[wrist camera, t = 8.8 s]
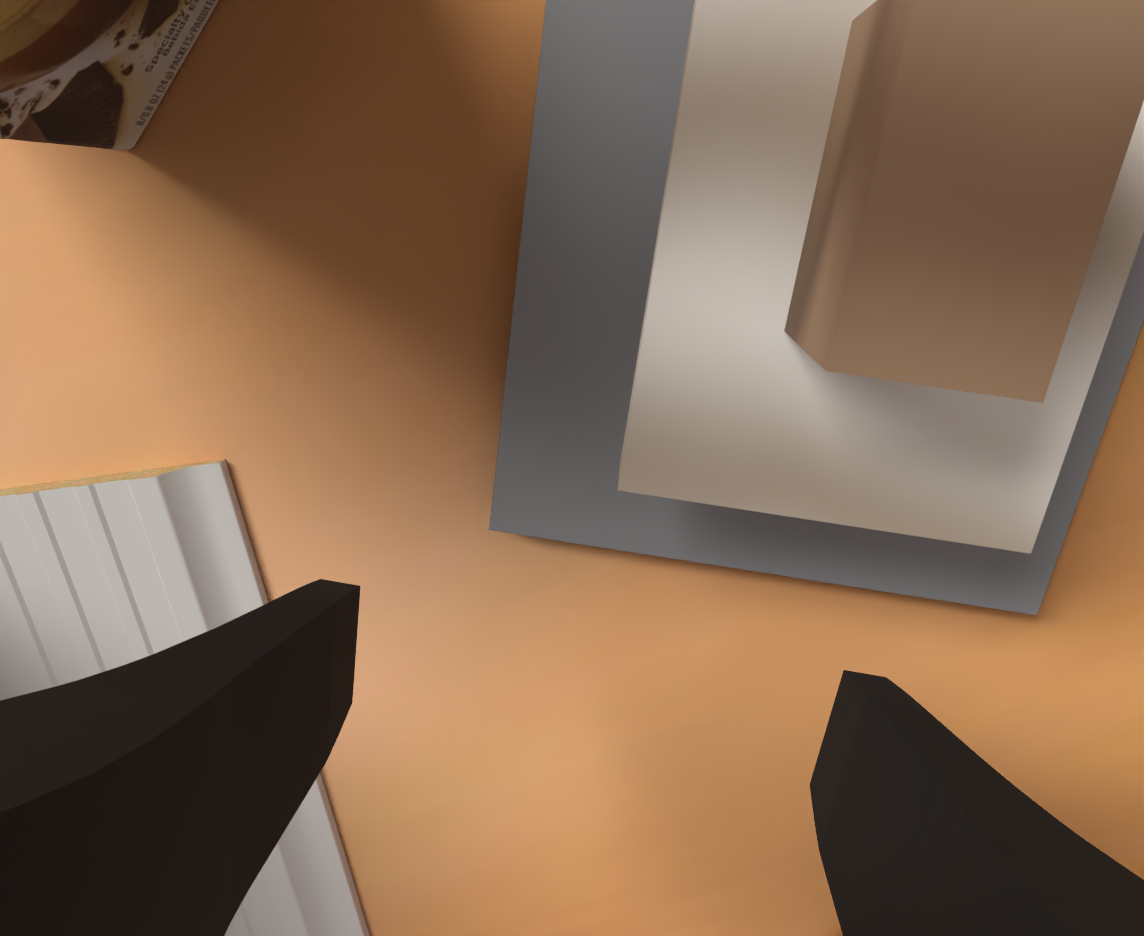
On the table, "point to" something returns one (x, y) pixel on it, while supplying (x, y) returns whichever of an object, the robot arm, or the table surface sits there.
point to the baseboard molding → (156, 634)
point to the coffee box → (91, 66)
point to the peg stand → (613, 330)
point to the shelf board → (775, 386)
